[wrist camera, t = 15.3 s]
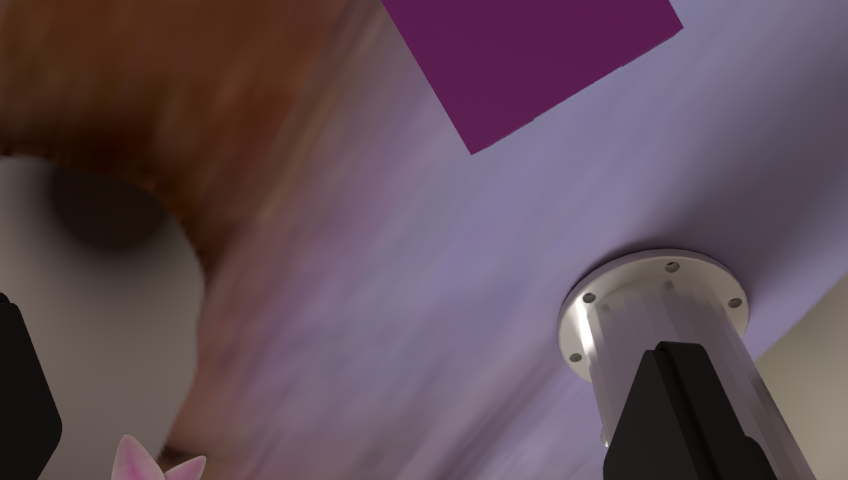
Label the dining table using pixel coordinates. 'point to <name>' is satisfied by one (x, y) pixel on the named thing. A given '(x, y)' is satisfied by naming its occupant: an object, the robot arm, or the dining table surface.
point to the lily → (150, 464)
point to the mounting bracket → (522, 53)
